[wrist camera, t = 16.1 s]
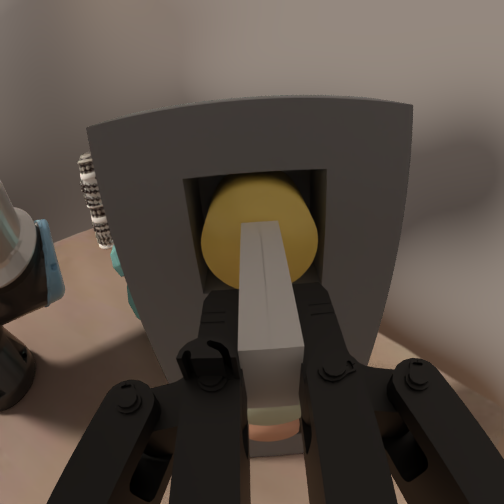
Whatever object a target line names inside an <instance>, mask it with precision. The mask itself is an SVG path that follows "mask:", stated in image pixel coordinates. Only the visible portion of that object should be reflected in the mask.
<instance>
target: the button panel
mask: <svg viewBox="0 0 504 504" xmlns="http://www.w3.org/2000/svg"><path fill="white" fill-rule="evenodd" d="M412 123H413V105H410V104H404V103H399V102H394V101H388V100H381V99H374V98H367V97H352V96H351V97H350V96H329V95H280V96H258V97H244V98H231V99H221V100H211V101H203V102H195V103H188V104H182V105H175V106H169V107H163V108H158V109H153V110H147V111H142V112H137V113H133V114H129V115H125V116H121V117H118V118H115V119H111V120H108V121H105V122H102V123H99V124H96V125H92V126H90V127H87V128H86V130H87V135H88V141H89V146H90V151H91V156H92V161H93V166H94V171H95V175H96V179H97V184H98V188H99V192H100V196H101V200H102V204H103V208H104V211H105V215H106V219H107V222H108V226H109V229H110V233H111V236H112V239H113V243H114V246H115V249H116V252H117V255H118V259H119V262H120V265H121V268H122V271H123V274H124V276H125V279H126V282H127V285H128V288H129V291H130V293H131V296H132V299H133V301H134V304H135V307H136V309H137V312H138V314H139V317H140V319H141V322H142V324H143V327H144V329H145V332H146V334H147V336H148V339H149V341H150V343H151V346H152V348H153V350H154V353H155V355H156V357H157V359H158V362H159V364H160V366H161V368H162V370H163V372H164V374H165V377H166V379H167V381H168V383H169V384H170V383H173V382H176V381H178V380H180V379H181V378H183V375H182V373H181V370H180V368H179V365H178V363H177V360H176V357H177V355H178V352H179V350H180V349H181V348H182V347H183V346H184V345H185V344H186V343H188V342H190V341H192V340H194V339H196V338H198V332H199V326H200V320H201V315H202V307H203V301H204V300H205V298H206V297H207V296H208V294H209V293H210V292H211V291H212V290H229V289H236V288H234V287H231V286H229V285H227V284H226V283H224V282H223V281H221V280H220V279H219V278H217V277H216V276H215V275H214V274H213V272H212V271H211V270H210V269H209V267H208V265H207V264H206V262H205V259H204V257H203V253H202V248H201V236H202V231H203V227H204V224H205V220H206V216H207V213H208V209H209V206H210V202H211V199H212V196H213V193H214V190H215V189H216V187H217V185H218V184H219V183H220V181H221V180H222V179H223V178H224V177H225V176H226V175H228V174H238V173H252V172H267V171H282V172H283V173H285V174H286V175H287V176H289V177H290V178H291V179H292V180H293V182H294V183H295V184H296V186H297V188H298V190H299V192H300V194H301V196H302V198H303V200H304V202H305V204H306V206H307V208H308V210H309V212H310V214H311V216H312V218H313V220H314V223H315V225H316V228H317V234H318V246H317V251H316V255H315V257H314V260H313V262H312V263H311V265H310V267H309V268H308V269H307V271H306V272H305V273H304V274H303V275H302V276H301V277H300V278H298V279H297V280H296V281H294V282H293V283H292V284H300V283H313V282H319V283H320V284H321V285H322V286H323V287H324V288H325V289H326V290H327V291H328V293H329V296H330V299H331V302H332V305H333V308H334V311H335V314H336V317H337V320H338V323H339V326H340V329H341V332H342V335H343V338H344V341H345V344H346V347H347V350H348V352H349V354H350V355H351V356H353V357H354V358H355V359H356V360H357V361H358V362H359V363H361V364H363V365H365V366H367V365H368V362H369V359H370V356H371V353H372V349H373V346H374V343H375V340H376V337H377V333H378V330H379V326H380V322H381V319H382V316H383V312H384V308H385V304H386V300H387V296H388V292H389V288H390V284H391V280H392V275H393V271H394V266H395V261H396V256H397V251H398V246H399V240H400V235H401V229H402V222H403V217H404V210H405V203H406V195H407V187H408V177H409V168H410V157H411V142H412ZM299 423H300V418H299ZM299 453H304V450H303V441H302V433H299V432H298V433H297V434H295V435H294V436H292V437H289V438H287V439H283V440H279V441H270V442H263V441H255V440H251V439H249V455H250V457H264V456H278V455H290V454H299Z"/></svg>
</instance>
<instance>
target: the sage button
mask: <svg viewBox="0 0 504 504" xmlns="http://www.w3.org/2000/svg"><path fill="white" fill-rule="evenodd" d="M247 416H248V424H251V425H259V426H270V425H279V424H284V423H288V422H291V421H294V420H296V419H299V418H301V408H300V401H299V405H294V406H283V407H270V408H253V409H248V408H247Z"/></svg>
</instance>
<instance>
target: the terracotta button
mask: <svg viewBox="0 0 504 504" xmlns="http://www.w3.org/2000/svg"><path fill="white" fill-rule="evenodd" d="M299 426H300V423H299V419H296V420H294V421H291V422H288V423H284V424H279V425H270V426H259V425H251V424H249V439H251V440H255V441H263V442H270V441H279V440H283V439H287V438H289V437H292V436H294V435H295V434H297V433H298V432H299Z"/></svg>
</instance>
